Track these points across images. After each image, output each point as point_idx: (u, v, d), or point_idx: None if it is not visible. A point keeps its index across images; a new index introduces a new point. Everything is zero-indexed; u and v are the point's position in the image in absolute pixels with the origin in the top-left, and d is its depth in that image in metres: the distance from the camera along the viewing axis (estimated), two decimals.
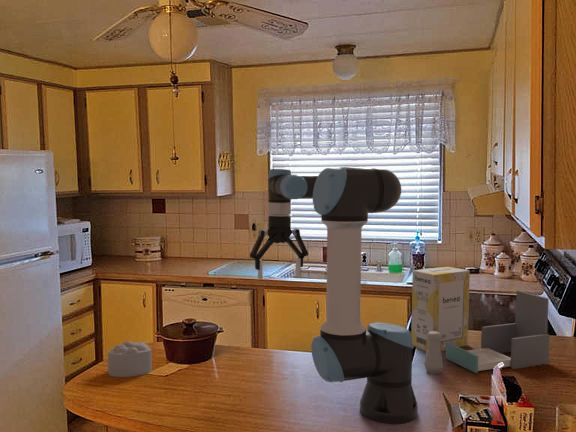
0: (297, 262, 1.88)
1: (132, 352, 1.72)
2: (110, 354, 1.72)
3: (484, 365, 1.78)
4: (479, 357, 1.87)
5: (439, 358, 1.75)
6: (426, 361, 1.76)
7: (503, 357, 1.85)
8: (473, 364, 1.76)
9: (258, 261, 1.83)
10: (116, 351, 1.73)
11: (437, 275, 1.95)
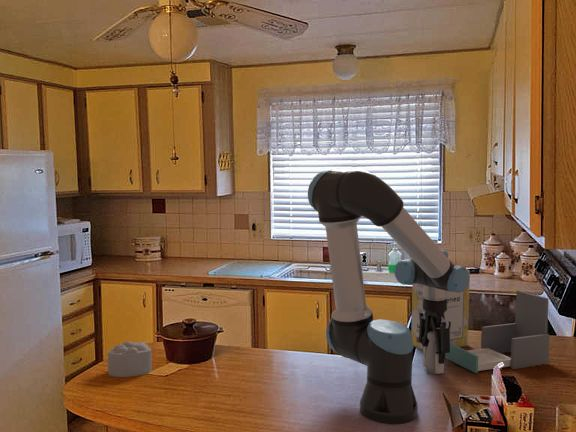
0: None
1: (132, 352, 1.72)
2: (110, 354, 1.72)
3: (484, 365, 1.78)
4: (479, 357, 1.87)
5: None
6: (426, 361, 1.76)
7: (503, 357, 1.85)
8: (473, 364, 1.76)
9: None
10: (116, 351, 1.73)
11: None
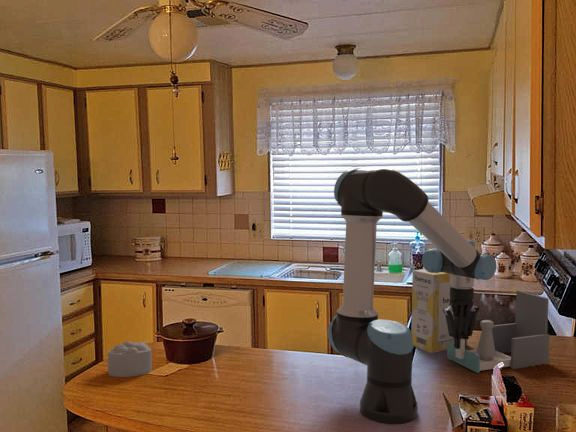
0: None
1: (132, 352, 1.72)
2: (110, 354, 1.72)
3: (486, 365, 1.78)
4: None
5: (492, 345, 1.84)
6: (479, 348, 1.85)
7: (504, 357, 1.86)
8: (475, 364, 1.76)
9: None
10: (116, 351, 1.73)
11: (437, 275, 1.95)
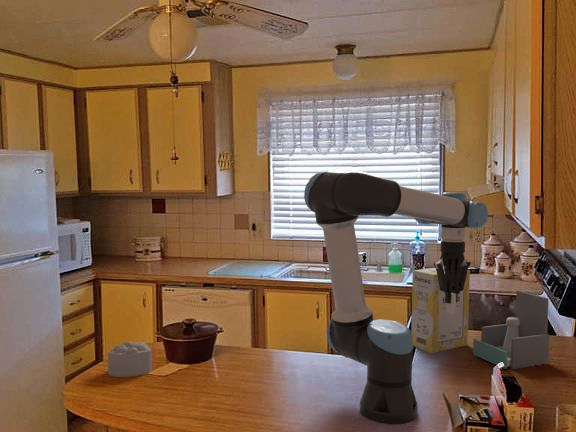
0: None
1: (132, 352, 1.72)
2: (110, 354, 1.72)
3: None
4: None
5: None
6: (505, 345, 1.89)
7: None
8: (502, 360, 1.80)
9: None
10: (116, 351, 1.73)
11: None
